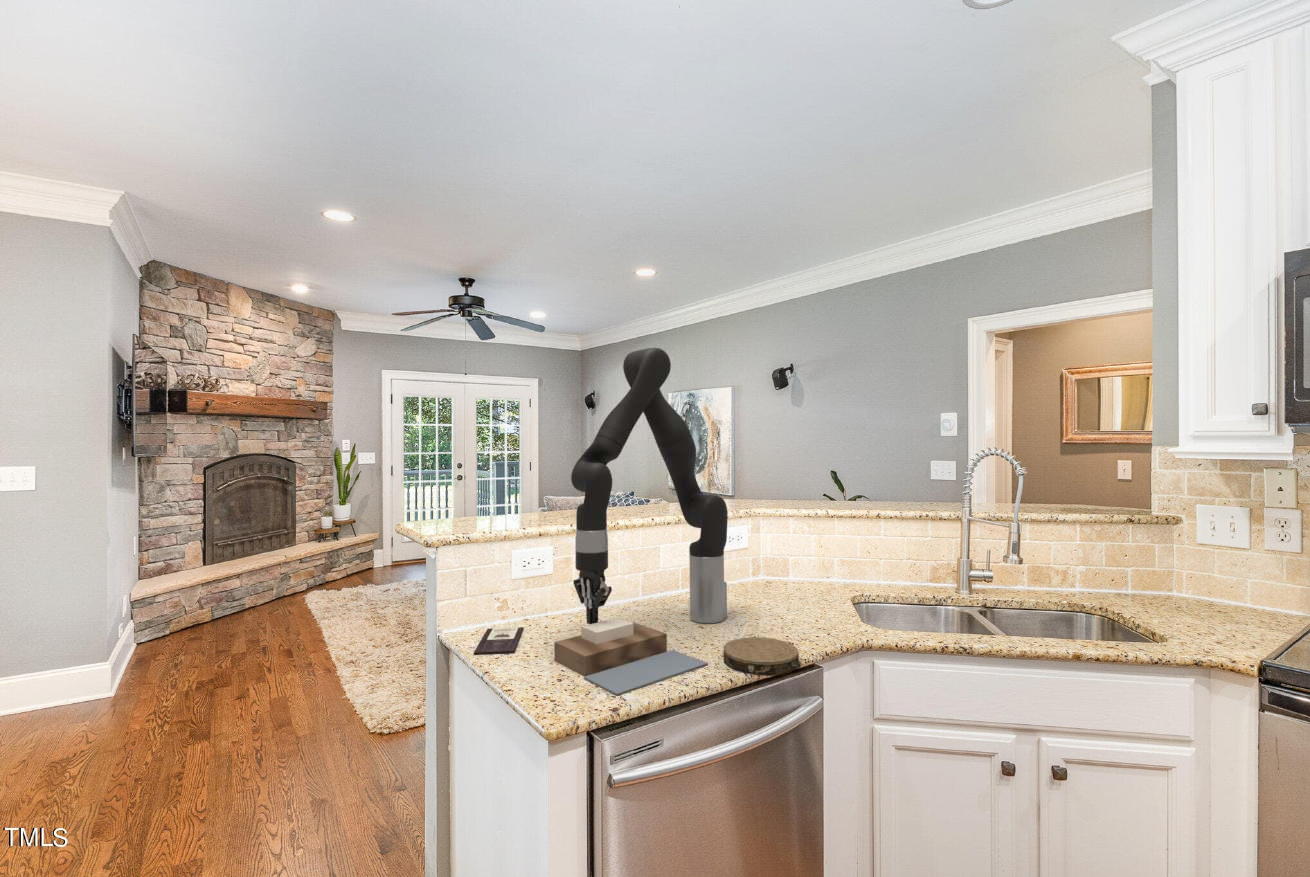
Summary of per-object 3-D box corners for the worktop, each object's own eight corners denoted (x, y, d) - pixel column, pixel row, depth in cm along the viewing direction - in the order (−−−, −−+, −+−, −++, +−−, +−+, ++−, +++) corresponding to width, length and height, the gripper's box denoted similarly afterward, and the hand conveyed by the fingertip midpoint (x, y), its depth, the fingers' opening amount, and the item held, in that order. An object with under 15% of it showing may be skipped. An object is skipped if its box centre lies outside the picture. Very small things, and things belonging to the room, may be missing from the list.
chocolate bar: (473, 652, 136) (487, 628, 154) (473, 657, 136) (487, 632, 154) (514, 651, 137) (523, 627, 155) (514, 655, 137) (523, 631, 155)
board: (633, 638, 146) (633, 622, 146) (666, 651, 137) (666, 633, 137) (554, 660, 132) (554, 641, 132) (585, 676, 123) (585, 656, 123)
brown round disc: (814, 664, 129) (813, 650, 129) (765, 683, 119) (765, 668, 119) (756, 645, 142) (756, 632, 142) (708, 661, 132) (708, 647, 132)
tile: (617, 628, 141) (617, 617, 141) (633, 634, 137) (633, 623, 137) (581, 637, 135) (581, 626, 135) (596, 644, 130) (596, 632, 130)
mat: (673, 651, 137) (673, 649, 137) (707, 664, 129) (707, 663, 129) (583, 678, 121) (583, 676, 121) (616, 695, 113) (616, 693, 113)
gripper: (621, 550, 138) (622, 626, 138) (589, 543, 148) (589, 614, 148) (594, 554, 133) (595, 633, 133) (562, 546, 143) (563, 620, 143)
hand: (592, 623), depth 140 cm, fingers closed
